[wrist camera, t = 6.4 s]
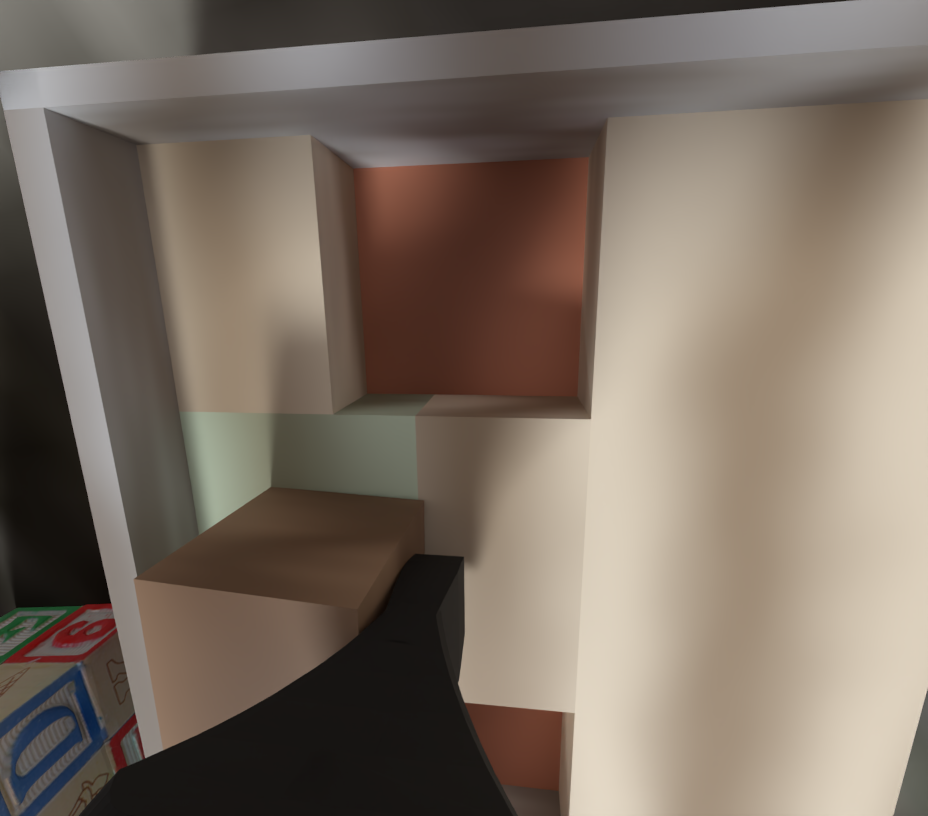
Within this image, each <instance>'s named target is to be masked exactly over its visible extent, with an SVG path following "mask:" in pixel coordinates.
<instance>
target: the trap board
mask: <svg viewBox="0 0 928 816" xmlns="http://www.w3.org/2000/svg"><path fill="white" fill-rule="evenodd" d="M0 96H1V101H2V105H3V110H4V114H5V119H6V123H7V128H8V133H9V137H10V142H11V146H12V151H13V155H14V160H15V165H16V169H17V174H18V178H19V183H20V187H21V192H22V197H23V201H24V206H25V210H26V215H27V220H28V224H29V229H30V233H31V238H32V242H33V247H34V252H35V256H36V261H37V265H38V270H39V274H40V279H41V284H42V288H43V293H44V297H45V302H46V306H47V311H48V316H49V320H50V325H51V329H52V334H53V339H54V343H55V348H56V352H57V357H58V361H59V366H60V371H61V375H62V380H63V384H64V389H65V393H66V398H67V403H68V407H69V412H70V416H71V421H72V425H73V430H74V435H75V439H76V444H77V448H78V453H79V457H80V462H81V467H82V471H83V476H84V480H85V485H86V490H87V494H88V499H89V503H90V508H91V512H92V517H93V522H94V526H95V531H96V535H97V540H98V544H99V549H100V554H101V558H102V563H103V567H104V572H105V576H106V581H107V586H108V590H109V595H110V599H111V604H112V608H113V613H114V618H115V622H116V627H117V631H118V636H119V641H120V645H121V650H122V654H123V659H124V663H125V668H126V673H127V677H128V682H129V686H130V691H131V695H132V700H133V705H134V709H135V714H136V718H137V723H138V727H139V732H140V737H141V741H142V746H143V750H144V755H145V758H147V757H149V756H151V755H154V754H156V753H158V752H160V751H163V746H162V741H161V735H160V729H159V723H158V717H157V712H156V706H155V700H154V694H153V689H152V683H151V677H150V671H149V665H148V660H147V654H146V648H145V642H144V637H143V631H142V625H141V619H140V613H139V608H138V602H137V596H136V590H135V585H134V578H136V577H137V576H139V575H140V574H142V573H143V572H145V571H146V570H148V569H149V568H151V567H152V566H154V565H155V564H157V563H158V562H160V561H161V560H163V559H164V558H166V557H167V556H169V555H170V554H172V553H173V552H175V551H176V550H178V549H179V548H181V547H182V546H184V545H185V544H187V543H188V542H190V541H191V540H193V539H194V538H196V537H197V536H199V535H200V534H202V533H203V532H204V531H206V530H207V529H209V528H210V527H212V526H213V525H215V524H216V523H218V522H219V521H221V520H222V519H224V518H225V517H227V516H228V515H230V514H231V513H233V512H234V511H236V510H237V509H239V508H240V507H242V506H243V505H245V504H246V503H248V502H249V501H251V500H252V499H254V498H255V497H257V496H258V495H260V494H261V493H263V492H264V491H266V490H267V489H269V488H270V487H278V488H292V489H303V490H314V491H325V492H336V493H347V494H358V495H369V496H380V497H391V498H402V499H413V500H424V530H425V554H429V555H446V556H463V557H464V594H465V637H464V645H463V654H462V662H461V670H460V677H459V682H458V685H459V688H460V691H461V694H462V697H463V700H464V703H465V705H466V708H467V710H468V713H469V715H470V718H471V720H472V722H473V725H474V727H475V730H476V732H477V735H478V737H479V740H480V742H481V744H482V746H483V749H484V751H485V753H486V755H487V757H488V759H489V761H490V763H491V765H492V768H493V770H494V772H495V774H496V776H497V778H498V780H499V781H500V783H501V785H502V787H503V789H504V791H505V793H506V795H507V797H508V799H509V800H510V802H511V804H512V806H513V808H514V809H515V811H516V813H517V815H518V816H893V814H894V810H895V807H896V803H897V799H898V796H899V792H900V788H901V785H902V781H903V777H904V773H905V770H906V766H907V762H908V759H909V755H910V751H911V748H912V744H913V740H914V737H915V733H916V729H917V725H918V722H919V718H920V714H921V711H922V707H923V703H924V700H925V696H926V692H927V689H928V0H854V1H842V2H830V3H818V4H806V5H794V6H782V7H770V8H757V9H745V10H733V11H721V12H709V13H697V14H685V15H673V16H661V17H649V18H637V19H625V20H613V21H601V22H589V23H577V24H564V25H552V26H540V27H528V28H516V29H504V30H492V31H480V32H468V33H456V34H444V35H432V36H420V37H408V38H396V39H384V40H371V41H359V42H347V43H335V44H323V45H311V46H299V47H287V48H275V49H263V50H251V51H239V52H227V53H215V54H203V55H190V56H178V57H166V58H154V59H142V60H130V61H118V62H106V63H94V64H82V65H70V66H58V67H46V68H34V69H22V70H10V71H0Z"/></svg>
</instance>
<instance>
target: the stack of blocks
mask: <svg viewBox="0 0 928 816" xmlns="http://www.w3.org/2000/svg"><path fill="white" fill-rule="evenodd" d="M143 759H145V755H144V750H143V746H142V741H141V737H140V732H139V727H138V723H137V718H136V714H135V709H134V705H133V700H132V695H131V691H130V686H129V682H128V677H127V673H126V668H125V663H124V659H123V654H122V650H121V645H120V641H119V636H118V631H117V627H116V622H115V618H114V613H113V608H112V604H87V605H84V606H66V607H33V608H16V609H14V610H13V611H11V612H9V613H7V614H6V615H4V616H2V617H1V618H0V816H79V814H80V813H81V812H82V811H83V810H84V809H85V807H86V806H87V805H88V804H89V803H90V802H91V800H92V799H93V798H94V797H95V796H96V795H97V794H98V793H99V791H100V790H101V789H102V788H103V787H104V786H105V785H106V783H107V782H108V781H109V780H110V779H111V778H112V777H113V776H114V775H115V774H116V773H117V771H118V770H119V769H121V768H124V767H126V766H129V765H131V764H133V763H136V762H138V761H140V760H143Z"/></svg>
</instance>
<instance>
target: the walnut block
mask: <svg viewBox="0 0 928 816" xmlns="http://www.w3.org/2000/svg"><path fill="white" fill-rule="evenodd" d="M414 554H425V530H424V500H413V499H402V498H391V497H380V496H369V495H358V494H347V493H336V492H325V491H314V490H303V489H292V488H278V487H270V488H269V489H267V490H266V491H264V492H263V493H261V494H260V495H258V496H257V497H255V498H254V499H252V500H251V501H249V502H248V503H246V504H245V505H243V506H242V507H240V508H239V509H237V510H236V511H234V512H233V513H231V514H230V515H228V516H227V517H225V518H224V519H222V520H221V521H219V522H218V523H216V524H215V525H213V526H212V527H210V528H209V529H207V530H206V531H204V532H203V533H202V534H200V535H199V536H197V537H196V538H194V539H193V540H191V541H190V542H188V543H187V544H185V545H184V546H182V547H181V548H179V549H178V550H176V551H175V552H173V553H172V554H170V555H169V556H167V557H166V558H164V559H163V560H161V561H160V562H158V563H157V564H155V565H154V566H152V567H151V568H149V569H148V570H146V571H145V572H143V573H142V574H140V575H139V576H137V577H136V578H134V585H135V590H136V596H137V602H138V608H139V613H140V619H141V625H142V631H143V637H144V642H145V648H146V654H147V660H148V665H149V671H150V677H151V683H152V689H153V694H154V700H155V706H156V712H157V717H158V723H159V729H160V735H161V741H162V746H163V750H165V749H167V748H169V747H171V746H174V745H176V744H178V743H180V742H183V741H185V740H187V739H189V738H191V737H194V736H196V735H198V734H200V733H202V732H204V731H206V730H208V729H210V728H212V727H214V726H216V725H218V724H220V723H222V722H224V721H226V720H228V719H230V718H231V717H233V716H235V715H237V714H239V713H241V712H243V711H245V710H247V709H248V708H250V707H252V706H254V705H255V704H257V703H259V702H261V701H263V700H264V699H266V698H268V697H270V696H271V695H273V694H275V693H276V692H278V691H279V690H281V689H282V688H284V687H286V686H287V685H289V684H290V683H292V682H293V681H295V680H297V679H298V678H300V677H301V676H303V675H304V674H306V673H308V672H309V671H311V670H312V669H314V668H315V667H317V666H318V665H320V664H321V663H323V662H324V661H325V660H327V659H328V658H329V657H331V656H332V655H333V654H335V653H336V652H337V651H339V650H340V649H342V648H343V647H344V646H345V645H347V644H348V643H349V642H350V641H352V640H353V639H354V638H355V637H356V636H358V635H359V634H360V633H361V632H362V631H363V630H364V629H365V628H367V627H368V626H369V625H370V624H371V623H372V622H373V621H374V620H375V619H376V618H378V617H379V616H380V615H381V614H382V613H383V612H384V611H385V610H386V608H387V605H388V602H389V600H390V597H391V595H392V592H393V589H394V587H395V584H396V582H397V579H398V577H399V574H400V572H401V569H402V568H403V566H404V565H405V563H406V562H407V561H408V560H409V559H410V558H411V557H412V556H413V555H414Z"/></svg>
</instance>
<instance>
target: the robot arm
mask: <svg viewBox="0 0 928 816" xmlns="http://www.w3.org/2000/svg"><path fill="white" fill-rule="evenodd" d="M464 637H465V594H464V557H463V556H446V555H429V554H414V555H413V556H412V557H411V558H410V559H409V560H408V561H407V562H406V563H405V565H404V566H403V568H402V569H401V572H400V574H399V577H398V579H397V582H396V584H395V587H394V589H393V592H392V595H391V597H390V600H389V602H388V605H387V608H386V610H385V611H384V612H383V613H382V614H381V615H380V616H379V617H378V618H376V619H375V620H374V621H373V622H372V623H371V624H370V625H369V626H368V627H367V628H365V629H364V630H363V631H362V632H361V633H360V634H359V635H358V636H356V637H355V638H354V639H353V640H352V641H350V642H349V643H348V644H347V645H345V646H344V647H343V648H342V649H340V650H339V651H337V652H336V653H335V654H333V655H332V656H331V657H329V658H328V659H327V660H325V661H324V662H323V663H321V664H320V665H318V666H317V667H315V668H314V669H312V670H311V671H309V672H308V673H306V674H304V675H303V676H301V677H300V678H298V679H297V680H295V681H293V682H292V683H290V684H289V685H287V686H286V687H284V688H282V689H281V690H279V691H278V692H276V693H275V694H273V695H271V696H270V697H268V698H266V699H264V700H263V701H261V702H259V703H257V704H255V705H254V706H252V707H250V708H248V709H247V710H245V711H243V712H241V713H239V714H237V715H235V716H233V717H231V718H230V719H228V720H226V721H224V722H222V723H220V724H218V725H216V726H214V727H212V728H210V729H208V730H206V731H204V732H202V733H200V734H198V735H196V736H194V737H191V738H189V739H187V740H185V741H183V742H180V743H178V744H176V745H174V746H171V747H169V748H167V749H165V750H163V751H160V752H158V753H156V754H154V755H151V756H149V757H147V758H145V759H143V760H140V761H138V762H136V763H133V764H131V765H129V766H126V767H124V768H121V769H119V770H118V771H117V773H116V774H115V775H114V776H113V777H112V778H111V779H110V780H109V781H108V782H107V783H106V785H105V786H104V787H103V788H102V789H101V790H100V791H99V793H98V794H97V795H96V796H95V797H94V798H93V799H92V800H91V802H90V803H89V804H88V805H87V806H86V807H85V809H84V810H83V811H82V812H81V813H80V814H79V816H518V815H517V813H516V811H515V809H514V808H513V806H512V804H511V802H510V800H509V799H508V797H507V795H506V793H505V791H504V789H503V787H502V785H501V783H500V781H499V780H498V778H497V776H496V774H495V772H494V770H493V768H492V765H491V763H490V761H489V759H488V757H487V755H486V753H485V751H484V749H483V746H482V744H481V742H480V740H479V737H478V735H477V732H476V730H475V727H474V725H473V722H472V720H471V718H470V715H469V713H468V710H467V708H466V705H465V703H464V700H463V697H462V694H461V691H460V688H459V685H458V682H459V677H460V670H461V662H462V654H463V645H464Z"/></svg>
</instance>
